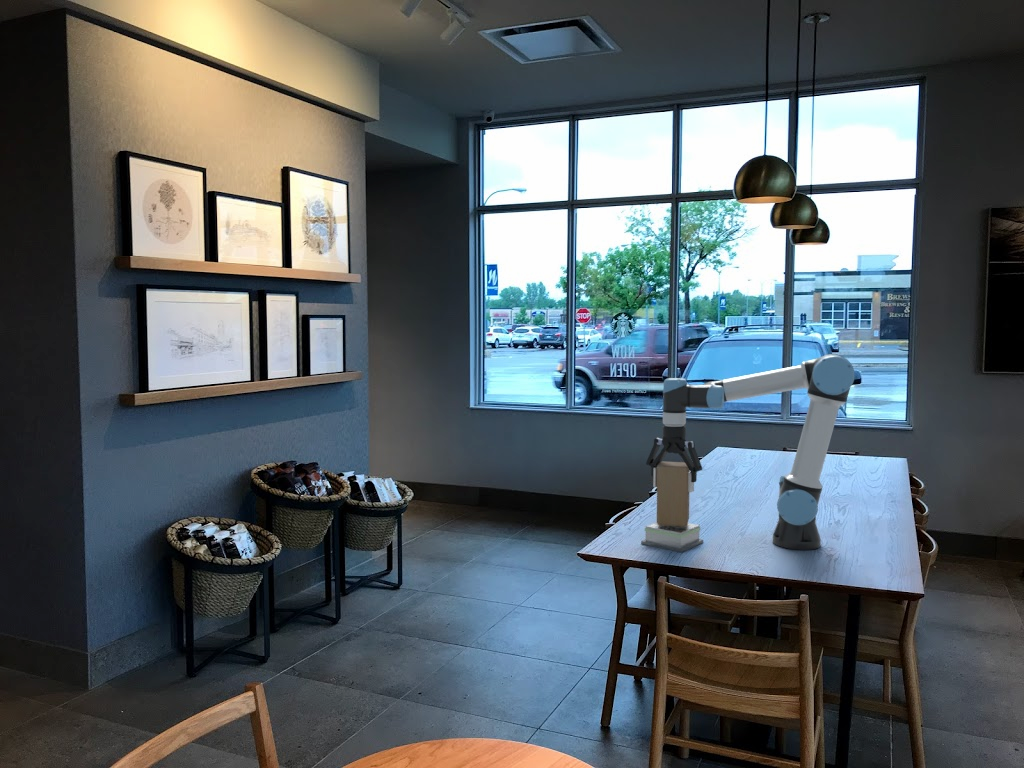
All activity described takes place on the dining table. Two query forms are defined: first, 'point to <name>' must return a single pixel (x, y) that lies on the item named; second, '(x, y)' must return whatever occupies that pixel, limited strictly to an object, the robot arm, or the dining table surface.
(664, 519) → the wooden block
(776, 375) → the robot arm
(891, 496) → the dining table surface
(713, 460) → the dining table surface
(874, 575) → the dining table surface
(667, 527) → the stand
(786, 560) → the dining table surface
